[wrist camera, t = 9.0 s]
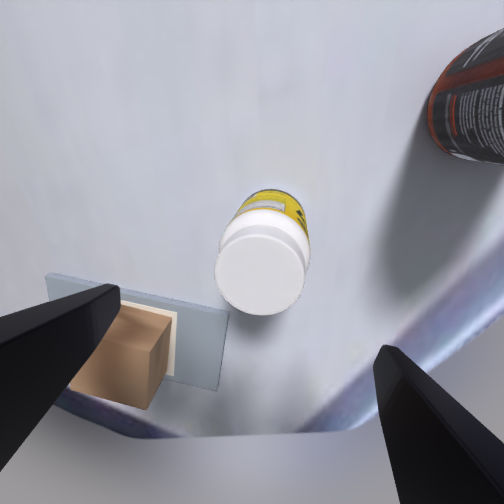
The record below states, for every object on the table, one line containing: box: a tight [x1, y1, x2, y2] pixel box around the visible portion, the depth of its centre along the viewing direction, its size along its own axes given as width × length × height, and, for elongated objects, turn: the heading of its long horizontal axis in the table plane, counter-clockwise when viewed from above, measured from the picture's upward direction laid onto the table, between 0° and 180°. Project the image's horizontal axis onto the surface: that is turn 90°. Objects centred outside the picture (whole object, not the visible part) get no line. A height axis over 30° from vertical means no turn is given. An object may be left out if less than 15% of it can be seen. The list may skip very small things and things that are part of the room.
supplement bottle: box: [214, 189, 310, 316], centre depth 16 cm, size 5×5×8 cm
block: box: [70, 304, 172, 410], centre depth 23 cm, size 6×6×4 cm
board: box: [45, 273, 229, 391], centre depth 25 cm, size 16×9×1 cm, turn 81°
